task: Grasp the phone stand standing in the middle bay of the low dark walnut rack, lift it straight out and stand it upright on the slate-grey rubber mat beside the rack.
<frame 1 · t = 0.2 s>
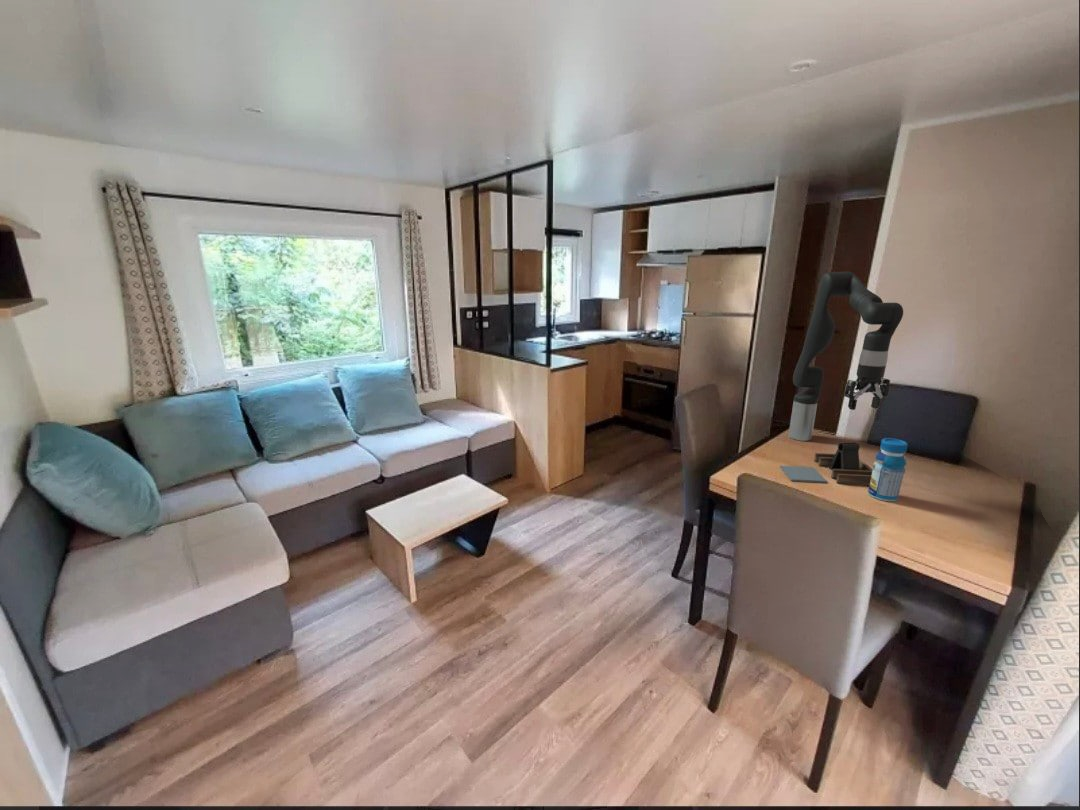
hand: (863, 408, 153), 27 cm above the table, fingers open, 8 cm apart
blue pill bottle: (882, 496, 149), on the table
slate mat: (802, 474, 165), on the table
walnut rack: (843, 472, 166), on the table
phone stand: (843, 473, 166), resting in walnut rack
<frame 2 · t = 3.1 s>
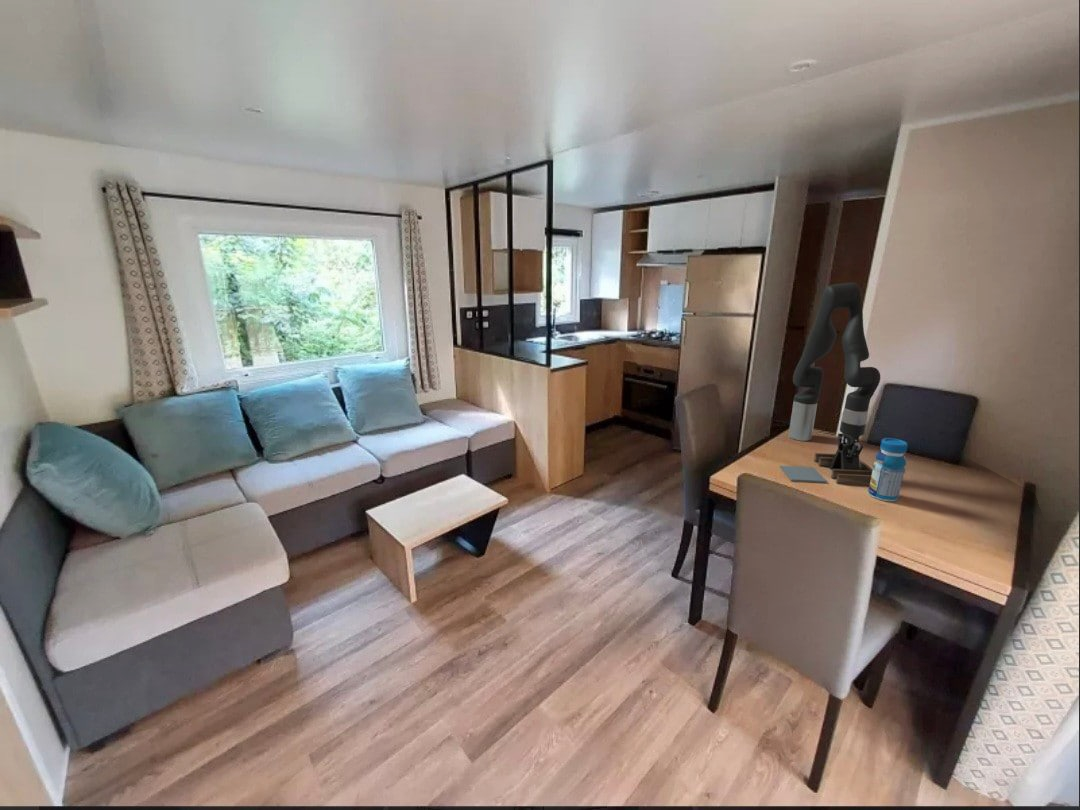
hand: (845, 463, 165), 4 cm above the table, fingers closed on phone stand, 3 cm apart
phone stand: (843, 473, 166), resting in walnut rack, touching gripper
everything else where it was.
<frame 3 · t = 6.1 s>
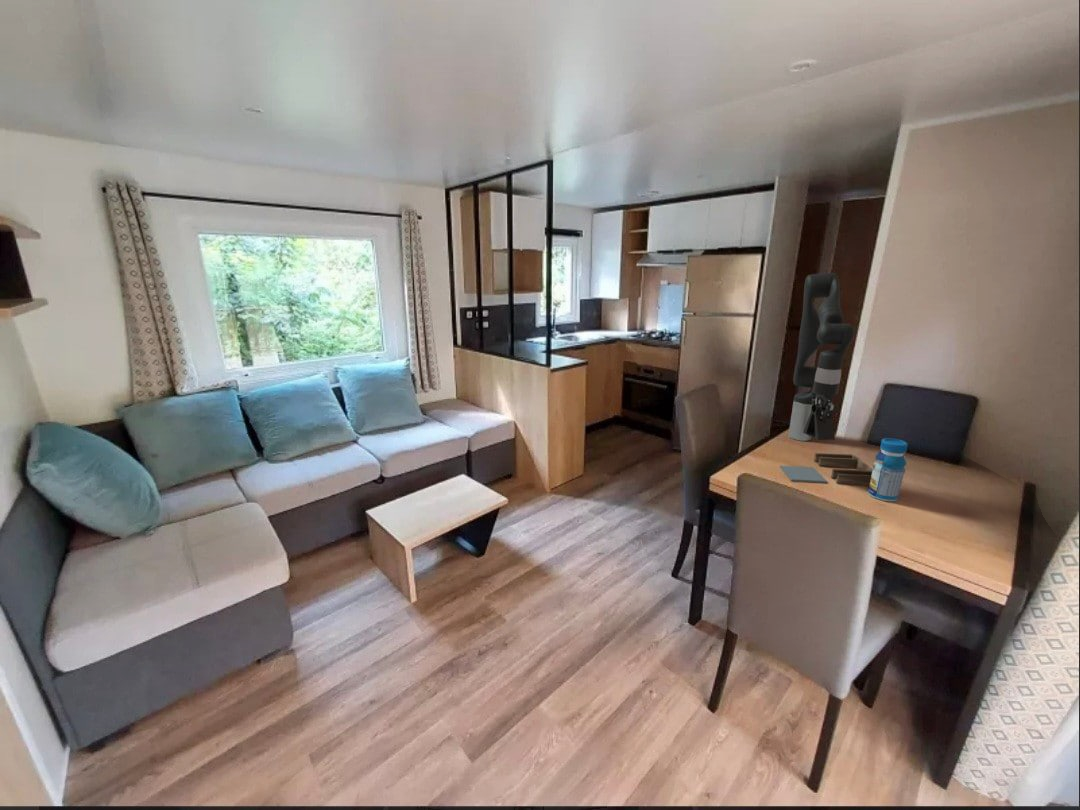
hand: (819, 426, 160), 19 cm above the table, fingers closed on phone stand, 3 cm apart
phone stand: (818, 436, 160), point 16 cm above the table, touching gripper
everything else where it was.
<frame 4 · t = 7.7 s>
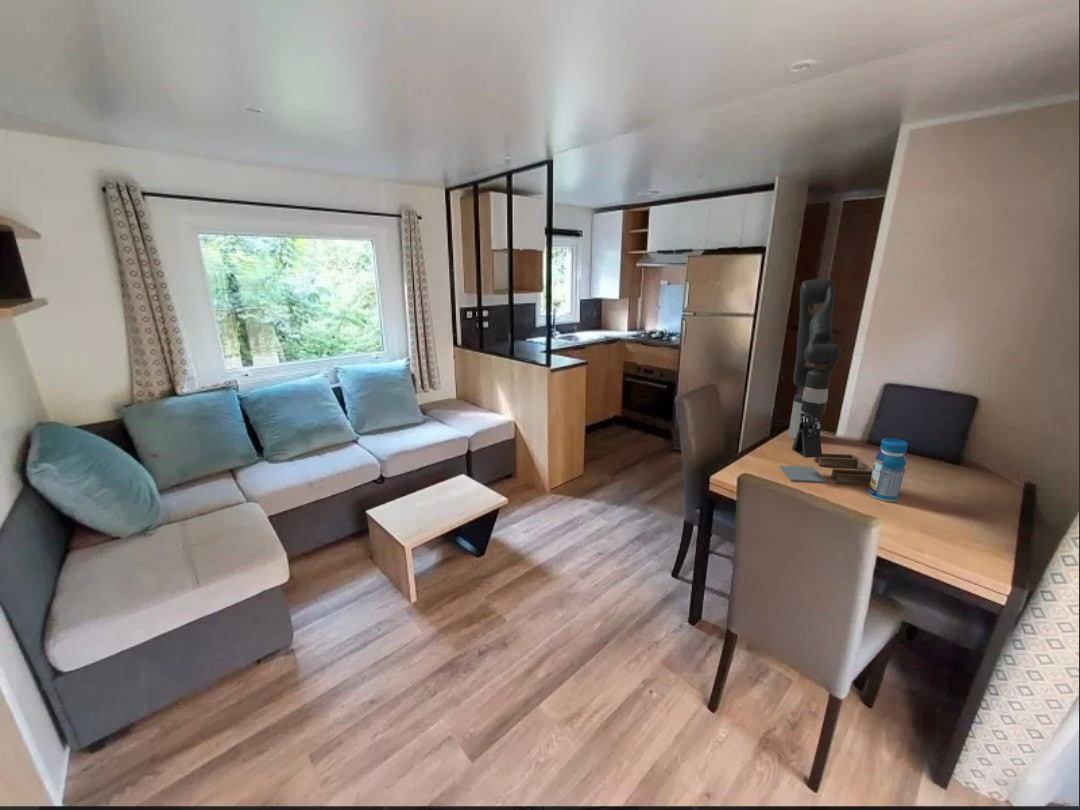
hand: (807, 443, 162), 13 cm above the table, fingers closed on phone stand, 3 cm apart
phone stand: (806, 453, 162), point 9 cm above the table, touching gripper
everything else where it was.
when the fingers open (6 cm above the table, at t = 9.2 s): phone stand drops 1 cm, resting on slate mat.
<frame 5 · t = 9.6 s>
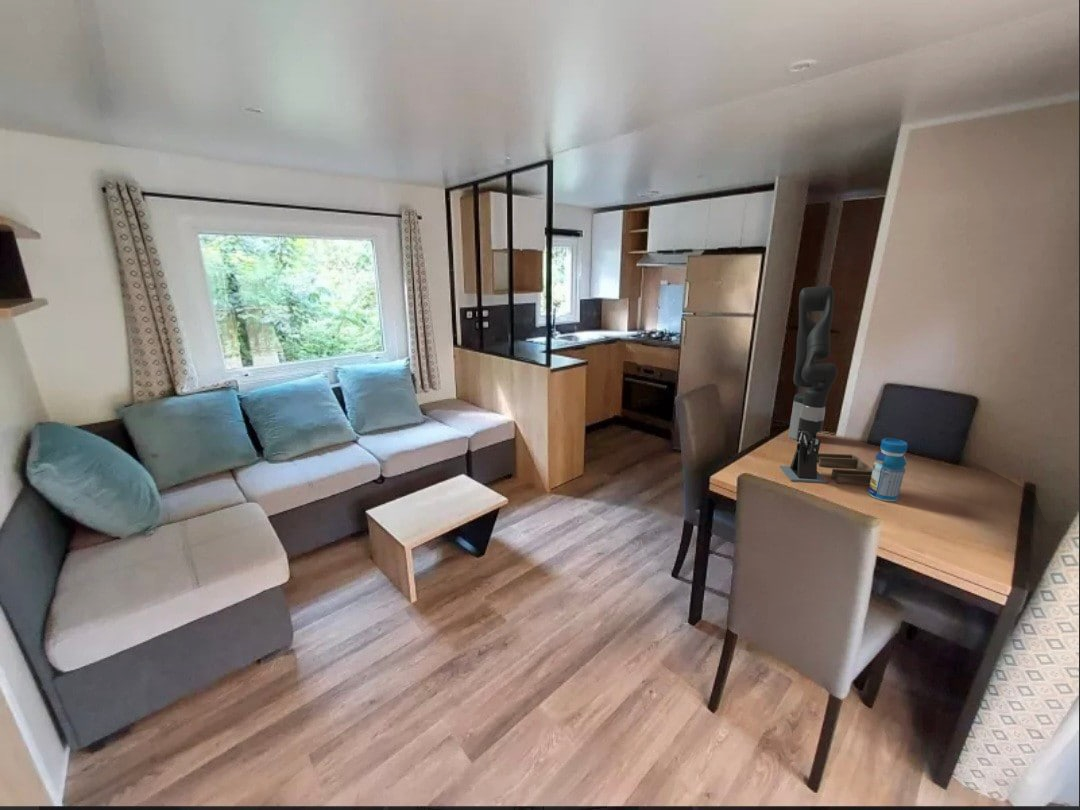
hand: (804, 458, 163), 7 cm above the table, fingers open, 7 cm apart
phone stand: (802, 473, 165), point 1 cm above the table, touching slate mat
everything else where it was.
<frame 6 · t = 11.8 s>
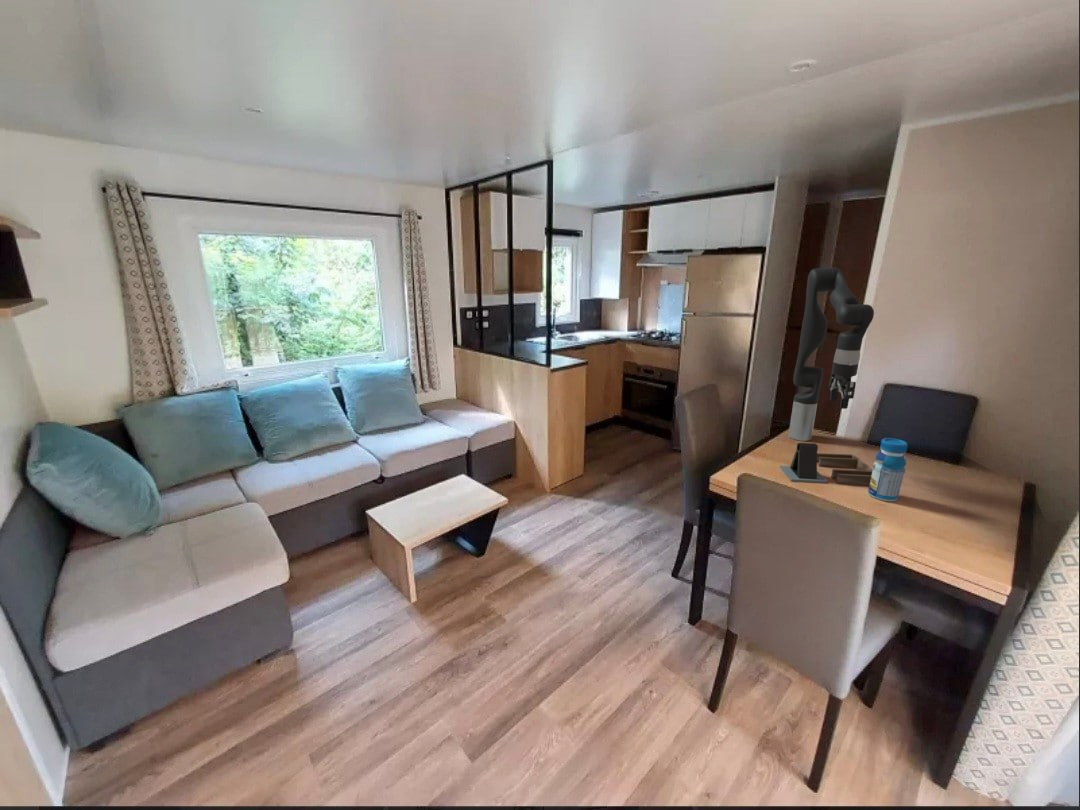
hand: (838, 404, 161), 26 cm above the table, fingers open, 8 cm apart
nothing on the table moved.
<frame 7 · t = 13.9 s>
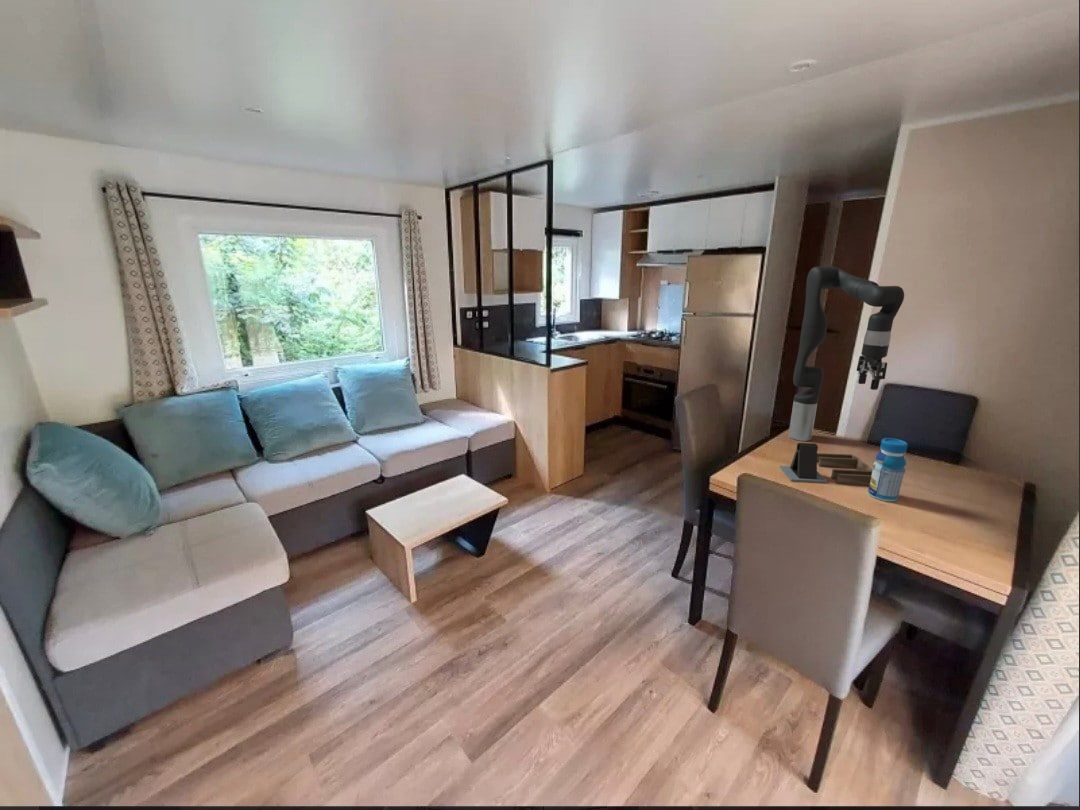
hand: (867, 386, 163), 32 cm above the table, fingers open, 8 cm apart
nothing on the table moved.
at the end: phone stand inside the target area (0.3 cm from its centre), point 0.6 cm above the table; phone stand tilted 0°; the gripper is holding nothing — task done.
